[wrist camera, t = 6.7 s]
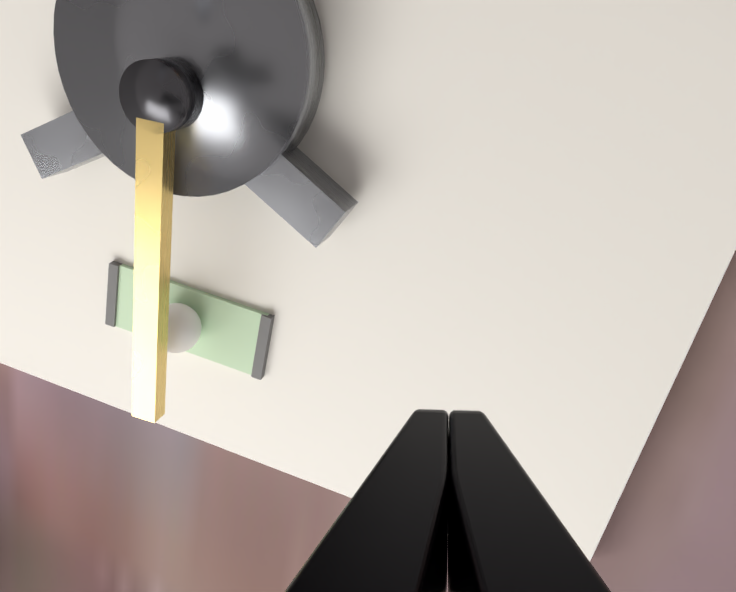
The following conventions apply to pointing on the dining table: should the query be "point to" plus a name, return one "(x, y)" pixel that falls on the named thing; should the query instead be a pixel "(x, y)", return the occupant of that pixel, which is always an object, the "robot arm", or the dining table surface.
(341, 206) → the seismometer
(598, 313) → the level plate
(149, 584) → the dining table surface
